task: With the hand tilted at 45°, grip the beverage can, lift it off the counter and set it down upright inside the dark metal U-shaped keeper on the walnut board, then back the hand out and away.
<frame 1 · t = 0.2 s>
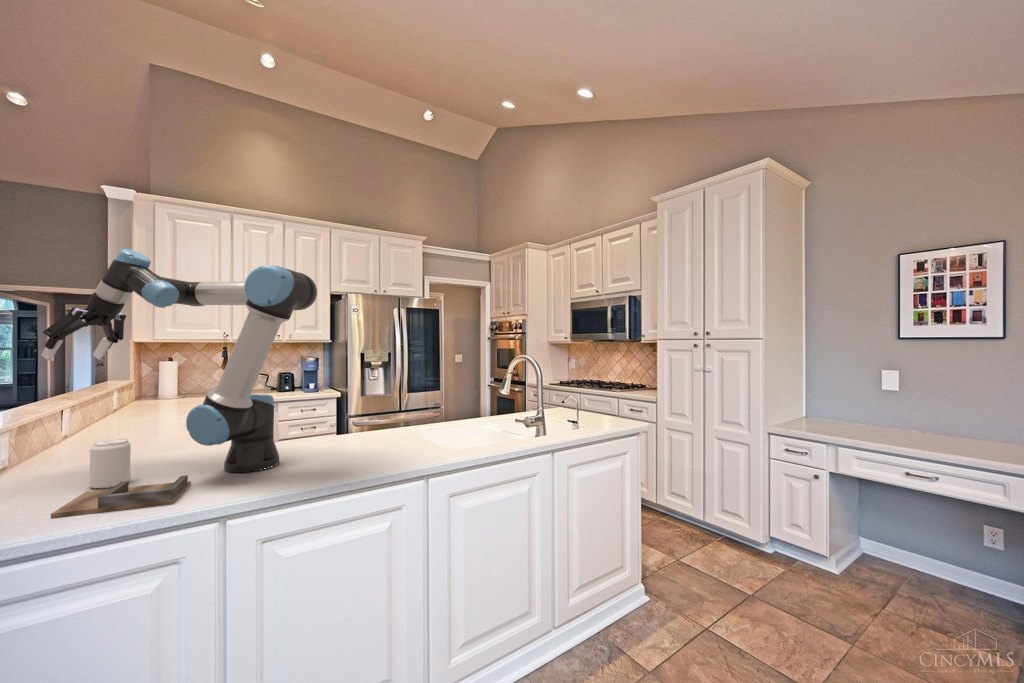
hand: (72, 357, 127), 35 cm above the countertop, tool tilted 35°, fingers open, 13 cm apart
keeper: (128, 499, 107), on the countertop
beverage can: (110, 485, 118), on the countertop
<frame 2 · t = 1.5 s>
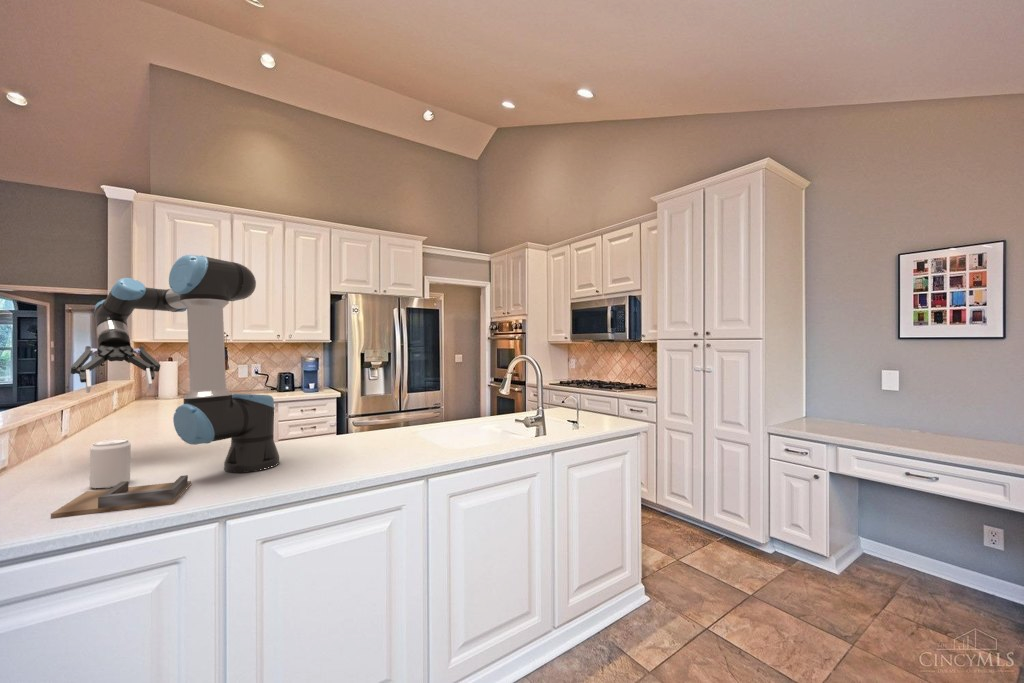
hand: (120, 388, 128), 26 cm above the countertop, tool tilted 45°, fingers open, 13 cm apart
nothing on the countertop moved.
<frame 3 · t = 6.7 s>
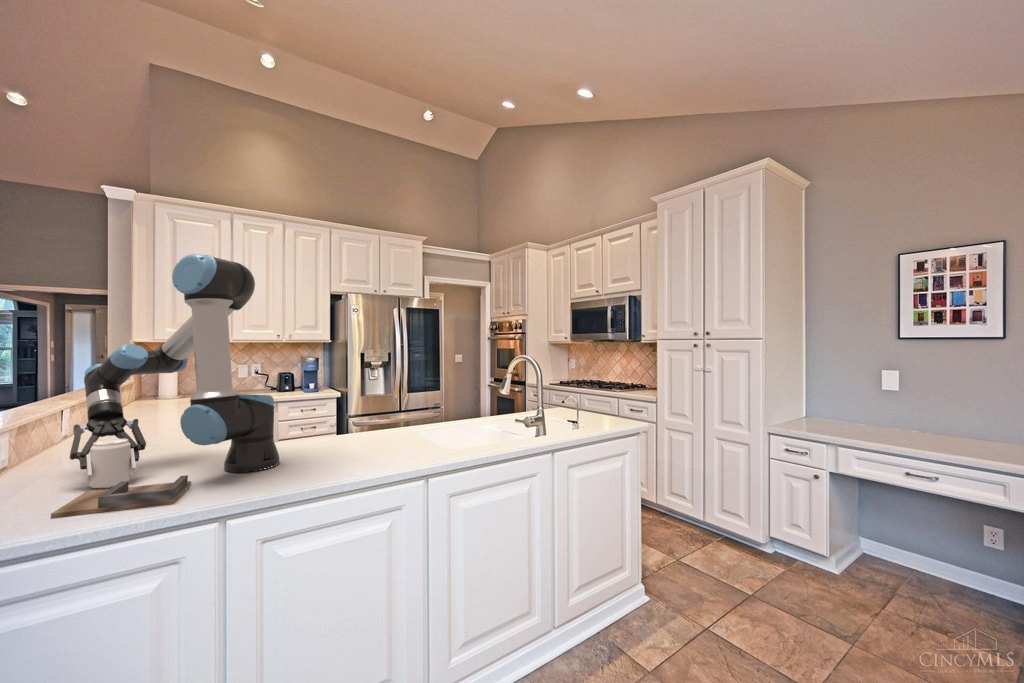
hand: (112, 474, 115), 4 cm above the countertop, tool tilted 45°, fingers closed on beverage can, 8 cm apart
beverage can: (110, 485, 118), on the countertop, touching gripper
when the fingers open (7 cm above the countertop, at t = 12.0 s): beverage can drops 2 cm, resting on keeper.
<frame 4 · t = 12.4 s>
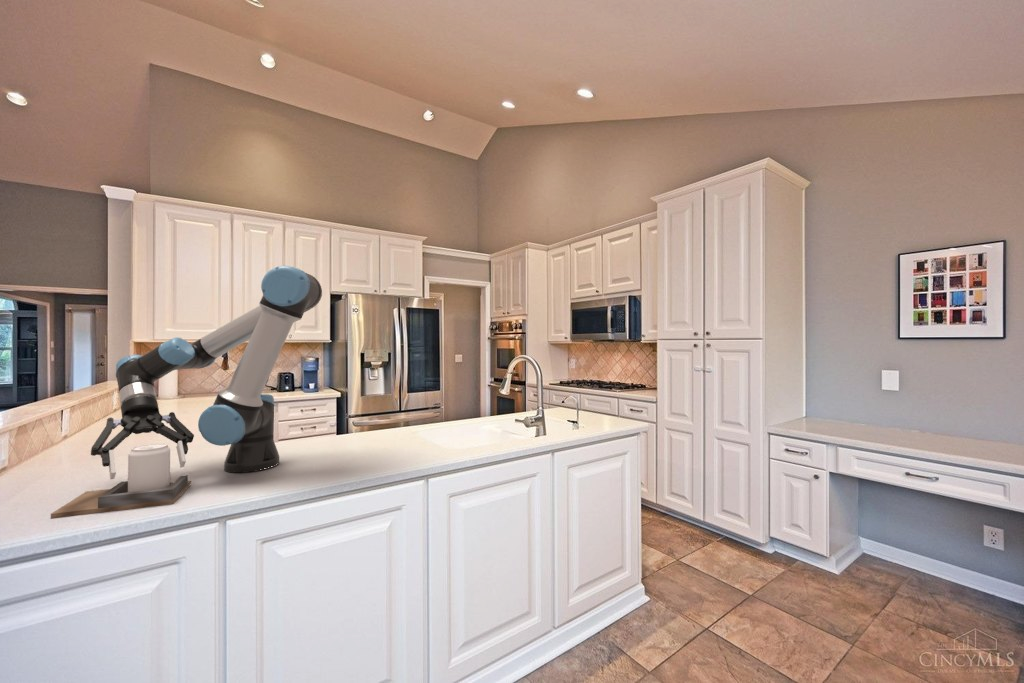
hand: (149, 469, 106), 8 cm above the countertop, tool tilted 45°, fingers open, 13 cm apart
beverage can: (149, 494, 108), point 1 cm above the countertop, touching keeper
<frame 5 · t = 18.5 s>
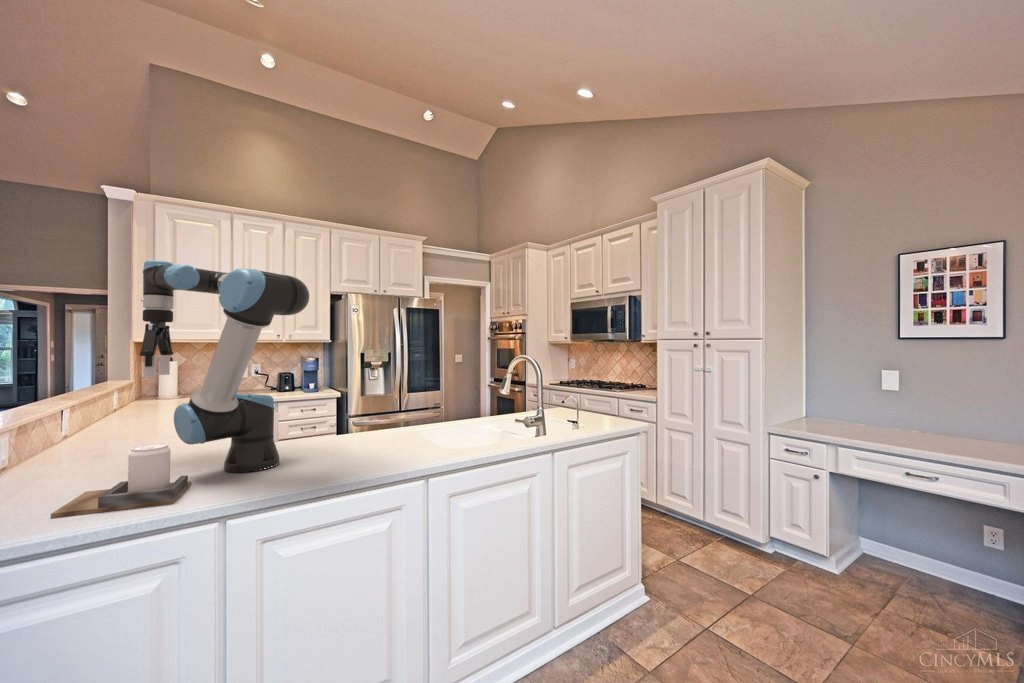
hand: (157, 376, 136), 29 cm above the countertop, tool pointing down, fingers open, 13 cm apart
nothing on the countertop moved.
at the end: beverage can 1.6 cm from the target spot on the keeper, point 0.8 cm above the keeper's base; beverage can tilted 0°; the gripper is holding nothing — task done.
